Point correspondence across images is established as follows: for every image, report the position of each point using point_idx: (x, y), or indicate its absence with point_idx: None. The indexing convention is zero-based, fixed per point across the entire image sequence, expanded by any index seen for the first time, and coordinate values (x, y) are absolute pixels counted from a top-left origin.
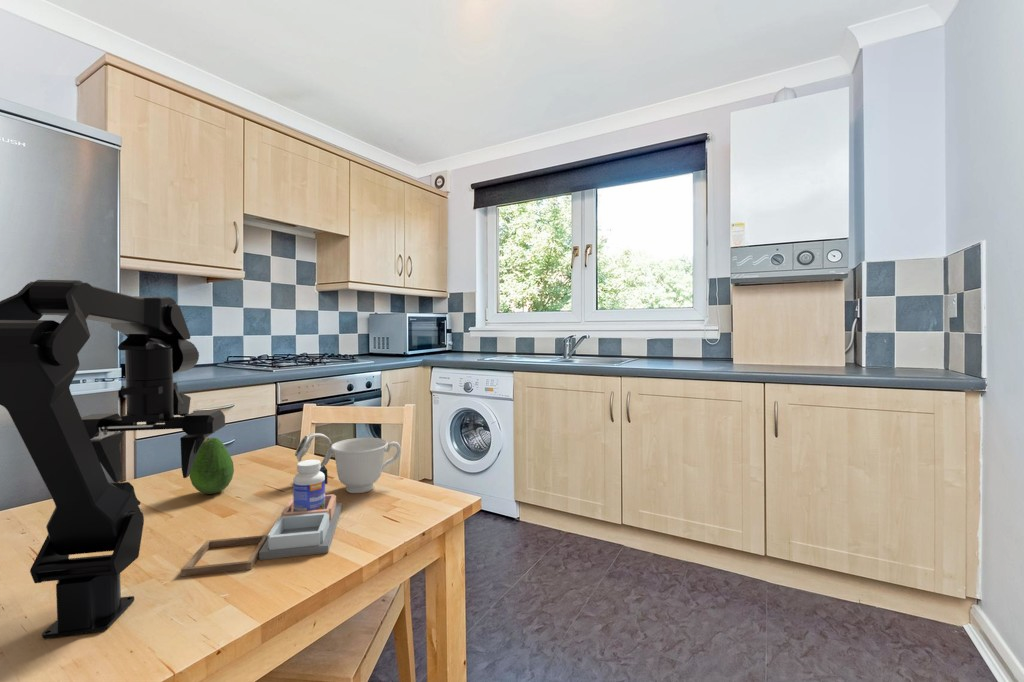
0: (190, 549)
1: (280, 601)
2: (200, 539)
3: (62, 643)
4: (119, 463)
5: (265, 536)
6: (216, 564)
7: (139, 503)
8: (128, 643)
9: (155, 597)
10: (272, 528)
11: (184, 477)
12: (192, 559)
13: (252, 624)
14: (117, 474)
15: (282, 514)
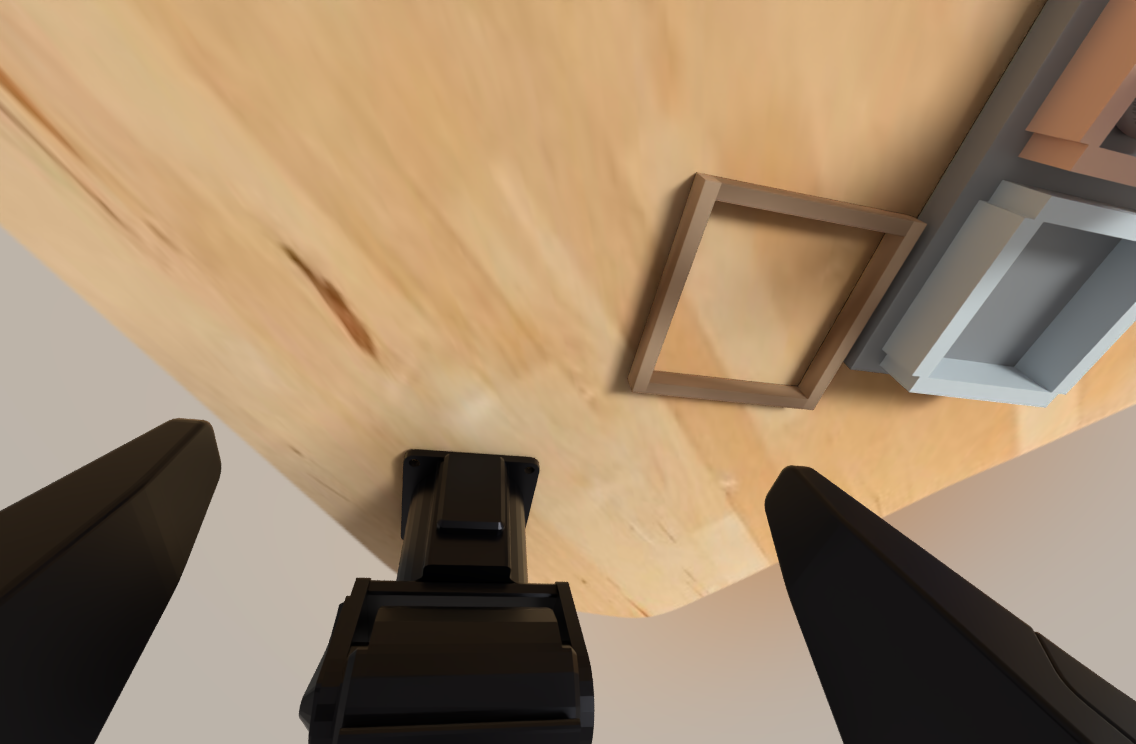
0: (634, 171)
1: None
2: (669, 56)
3: None
4: (63, 600)
5: (912, 237)
6: (727, 393)
7: (578, 725)
8: (572, 566)
9: (582, 454)
10: (952, 321)
11: (772, 512)
12: (659, 338)
13: (760, 566)
14: (183, 535)
15: (1073, 140)
